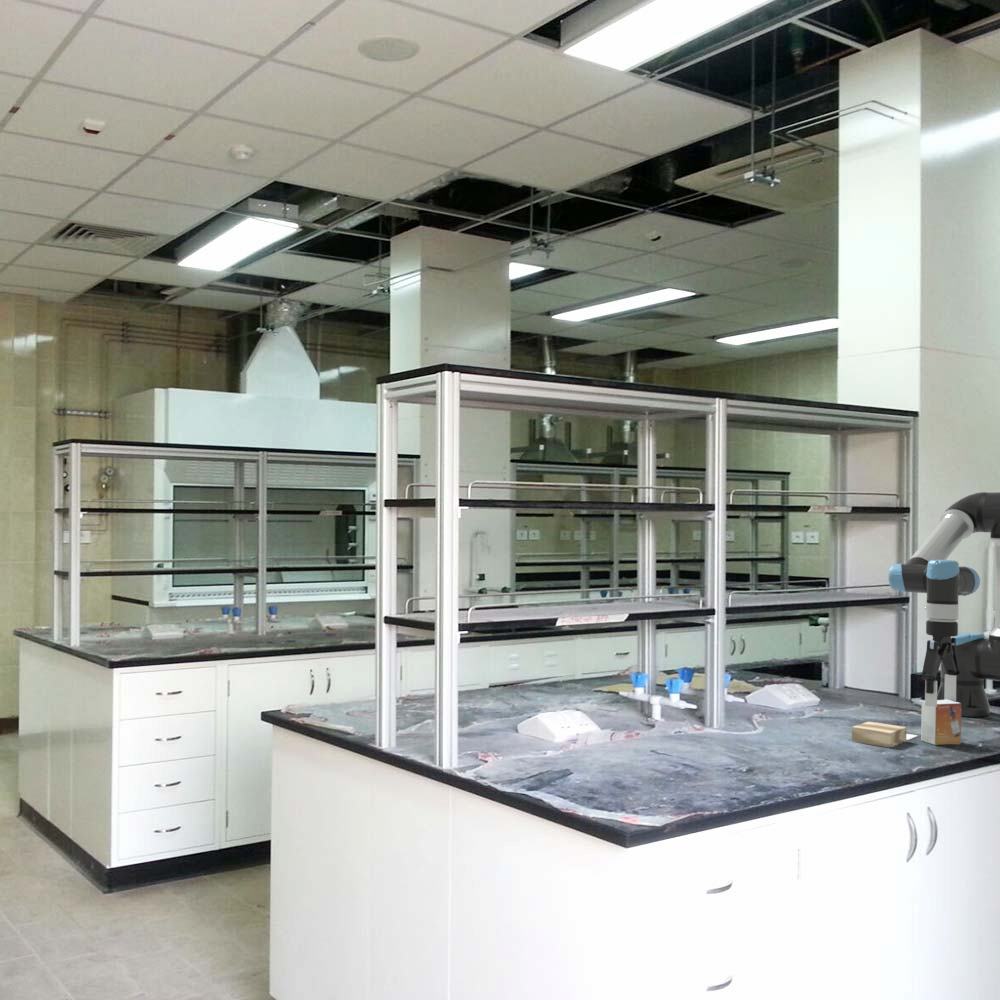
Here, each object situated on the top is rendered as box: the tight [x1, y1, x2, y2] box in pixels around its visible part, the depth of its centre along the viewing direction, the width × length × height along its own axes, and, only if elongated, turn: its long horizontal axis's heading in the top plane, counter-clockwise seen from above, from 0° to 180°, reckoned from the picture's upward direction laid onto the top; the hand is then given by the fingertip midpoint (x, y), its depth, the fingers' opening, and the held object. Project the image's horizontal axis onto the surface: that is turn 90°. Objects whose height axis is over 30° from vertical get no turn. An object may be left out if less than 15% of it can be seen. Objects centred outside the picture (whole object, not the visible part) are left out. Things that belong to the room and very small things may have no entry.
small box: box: [920, 699, 962, 746], centre depth 268 cm, size 8×6×10 cm
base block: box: [851, 720, 907, 748], centre depth 269 cm, size 10×10×4 cm
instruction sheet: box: [906, 733, 919, 741], centre depth 276 cm, size 7×10×1 cm
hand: (940, 703), depth 268 cm, fingers open, 13 cm apart
